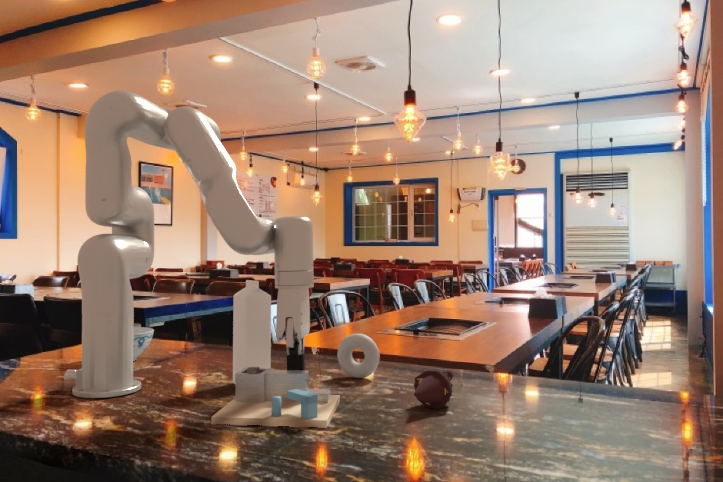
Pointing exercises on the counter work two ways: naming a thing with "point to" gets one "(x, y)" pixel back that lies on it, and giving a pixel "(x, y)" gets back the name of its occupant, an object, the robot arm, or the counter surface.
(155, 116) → the robot arm
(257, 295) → the milk
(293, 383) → the link
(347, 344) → the donut
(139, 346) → the chinaware
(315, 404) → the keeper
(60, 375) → the counter surface
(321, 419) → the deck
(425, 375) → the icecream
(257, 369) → the pintle
